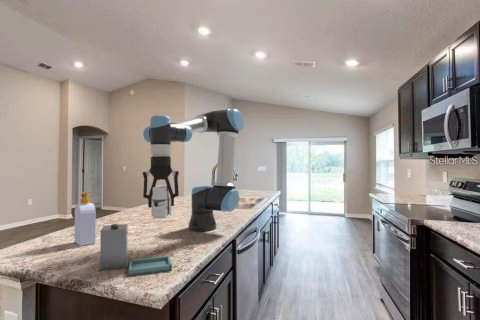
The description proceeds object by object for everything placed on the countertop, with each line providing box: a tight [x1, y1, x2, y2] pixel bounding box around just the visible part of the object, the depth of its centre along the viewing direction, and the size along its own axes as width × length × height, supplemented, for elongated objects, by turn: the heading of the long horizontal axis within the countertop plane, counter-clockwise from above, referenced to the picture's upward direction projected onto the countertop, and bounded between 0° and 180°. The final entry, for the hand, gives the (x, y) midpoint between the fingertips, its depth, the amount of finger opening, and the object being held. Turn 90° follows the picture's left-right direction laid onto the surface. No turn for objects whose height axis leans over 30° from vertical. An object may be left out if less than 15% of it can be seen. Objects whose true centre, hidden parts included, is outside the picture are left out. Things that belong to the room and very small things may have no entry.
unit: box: [98, 223, 130, 272], centre depth 98 cm, size 9×9×14 cm
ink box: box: [152, 184, 170, 219], centre depth 107 cm, size 8×5×12 cm, turn 5°
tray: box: [128, 255, 173, 277], centre depth 95 cm, size 14×10×2 cm
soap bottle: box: [74, 191, 97, 247], centre depth 124 cm, size 9×7×23 cm
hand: (161, 215), depth 107 cm, fingers closed on ink box, 6 cm apart
